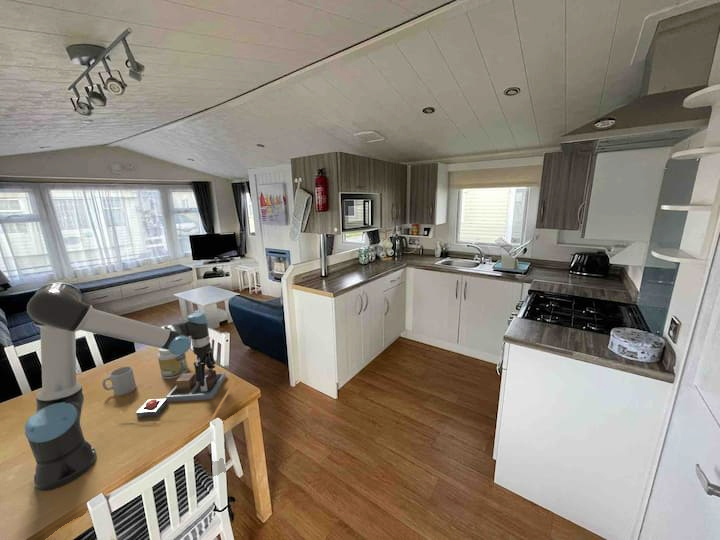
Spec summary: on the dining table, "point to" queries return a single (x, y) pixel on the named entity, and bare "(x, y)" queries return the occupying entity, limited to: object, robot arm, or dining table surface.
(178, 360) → the supplement tub
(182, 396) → the pallet
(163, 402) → the white square piece
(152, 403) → the button
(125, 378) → the mug
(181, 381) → the seated block
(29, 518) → the dining table surface
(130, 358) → the dining table surface
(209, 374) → the box
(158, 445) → the dining table surface
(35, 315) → the robot arm
